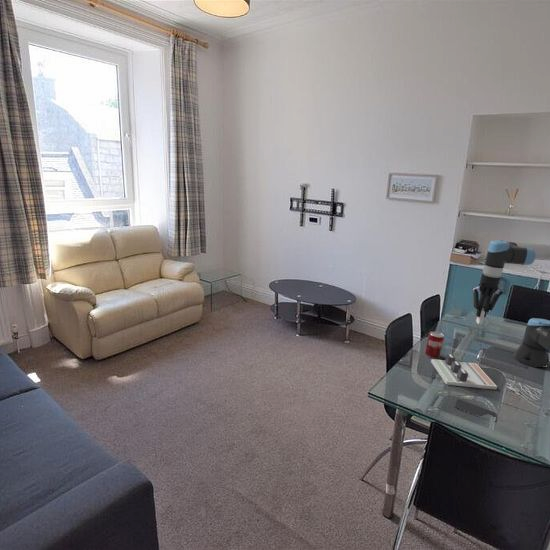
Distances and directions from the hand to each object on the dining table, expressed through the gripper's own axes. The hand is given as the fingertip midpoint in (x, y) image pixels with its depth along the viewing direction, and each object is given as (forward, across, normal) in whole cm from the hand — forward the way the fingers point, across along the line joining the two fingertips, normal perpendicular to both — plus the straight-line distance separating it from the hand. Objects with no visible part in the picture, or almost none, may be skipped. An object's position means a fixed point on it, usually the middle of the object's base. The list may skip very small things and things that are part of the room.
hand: (478, 323), depth 173 cm
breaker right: (+23, +8, +13) cm, 28 cm away
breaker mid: (+23, +9, +6) cm, 25 cm away
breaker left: (+23, +8, -1) cm, 24 cm away
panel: (+24, +5, +6) cm, 26 cm away
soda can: (+25, +13, -11) cm, 30 cm away
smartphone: (+25, +11, +34) cm, 43 cm away
